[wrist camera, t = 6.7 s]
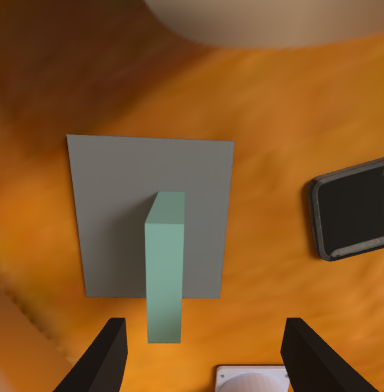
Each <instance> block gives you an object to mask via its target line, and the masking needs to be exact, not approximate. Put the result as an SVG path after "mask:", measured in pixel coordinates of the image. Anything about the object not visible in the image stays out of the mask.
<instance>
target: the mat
mask: <svg viewBox="0 0 384 392" xmlns="http://www.w3.org/2000/svg"><path fill="white" fill-rule="evenodd" d="M67 141H68V150H69V158H70V166H71V174H72V182H73V190H74V199H75V207H76V215H77V223H78V231H79V239H80V248H81V256H82V264H83V272H84V280H85V288H86V297H128V298H147V294H146V255H145V222H146V219H147V217H148V215H149V213H150V210H151V208H152V206H153V203H154V201H155V199H156V197H157V194H158V192H159V191H160V192H185V200H184V246H183V276H182V298H214V299H220V290H221V279H222V269H223V258H224V248H225V237H226V227H227V216H228V206H229V195H230V185H231V174H232V164H233V153H234V143H235V142H234V141H216V140H192V139H167V138H143V137H119V136H95V135H67Z"/></svg>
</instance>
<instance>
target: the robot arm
mask: <svg viewBox="0 0 384 392" xmlns="http://www.w3.org/2000/svg"><path fill="white" fill-rule="evenodd" d="M280 353H281V356H282V359H283V362H284V366H219V367H218V368H217V373H216V383H215V392H287V391H288V387H289V383H291V385H292V388H293V390H294V392H379V391H378V390H377V389H375V388H374V387H373V386H372V385H371V384H370V383H369V382H367V381H366V380H365V379H364V378H363V377H362V376H361V375H360V374H359V373H357V372H356V371H355V370H354V369H353V368H352V367H351V366H350V365H349V364H348V363H347V362H346V361H345V360H343V359H342V358H341V357H340V356H339V355H338V354H337V353H336V352H335V351H334V350H333V349H332V348H331V347H330V346H329V345H328V344H327V343H326V342H325V341H324V340H323V339H322V338H321V337H320V336H319V335H318V334H317V333H316V332H315V331H314V330H313V329H312V328H311V327H310V326H308V325H307V324H306V323H305V322H304V321H303V320H302V319H301V318H287V320H286V326H285V331H284V336H283V341H282V346H281V351H280ZM127 355H128V348H127V335H126V322H125V318H110V319H109V320H108V322H107V323H106V325H105V326H104V327H103V329H102V330H101V332H100V333H99V334H98V336H97V337H96V338H95V340H94V341H93V342H92V344H91V345H90V346H89V348H88V349H87V350H86V352H85V353H84V354H83V356H82V357H81V358H80V359H79V361H78V362H77V363H76V364H75V366H74V367H73V368H72V369H71V371H70V372H69V373H68V374H67V376H66V377H65V378H64V379H63V380H62V381H61V383H60V384H59V385H58V386H57V387H56V389H55V390H54V391H53V392H119V390H120V387H121V384H122V379H123V375H124V370H125V365H126V360H127Z"/></svg>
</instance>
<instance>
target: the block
mask: <svg viewBox="0 0 384 392" xmlns="http://www.w3.org/2000/svg"><path fill="white" fill-rule="evenodd" d="M184 200H185V192H160V191H159V192H158V194H157V197H156V199H155V201H154V203H153V206H152V208H151V210H150V213H149V215H148V217H147V219H146V222H145V255H146V294H147V334H148V343H180V338H181V307H182V276H183V246H184Z"/></svg>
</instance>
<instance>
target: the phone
mask: <svg viewBox="0 0 384 392" xmlns="http://www.w3.org/2000/svg"><path fill="white" fill-rule="evenodd" d="M307 197H308V204H309V211H310V218H311V225H312V233H313V240H314V247H315V251H316V253H317V254H318V255H319V256H320V257H321V258H322V259H324V260H326V261H336V260H340V259H344V258H347V257H351V256H355V255H359V254H363V253H367V252H370V251H374V250H378V249H382V248H384V157H383V158H379V159H376V160H372V161H369V162H365V163H362V164H358V165H355V166H351V167H348V168H344V169H341V170H337V171H334V172H330V173H327V174H323V175H320V176H317V177H315V178H314V179H313V180H311V182H310V183H309V185H308V188H307ZM309 200H310V201H309ZM313 220H314V223H313Z"/></svg>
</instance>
